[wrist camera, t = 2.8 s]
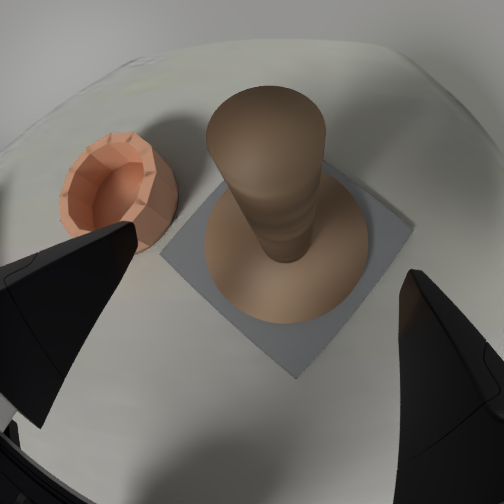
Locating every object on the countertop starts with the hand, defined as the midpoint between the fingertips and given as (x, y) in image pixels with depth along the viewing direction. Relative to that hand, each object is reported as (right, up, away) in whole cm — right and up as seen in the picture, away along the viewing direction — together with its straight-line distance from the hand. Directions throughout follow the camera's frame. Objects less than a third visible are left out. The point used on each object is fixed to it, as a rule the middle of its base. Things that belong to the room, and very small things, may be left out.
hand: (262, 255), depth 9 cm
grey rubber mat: (+2, +1, +10) cm, 10 cm away
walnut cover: (+2, +1, +10) cm, 10 cm away
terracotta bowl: (-9, +4, +12) cm, 16 cm away
